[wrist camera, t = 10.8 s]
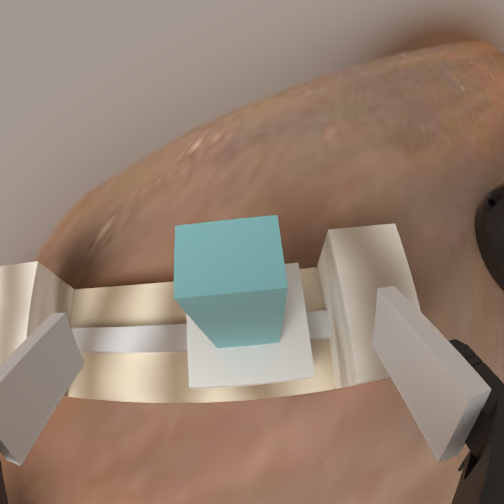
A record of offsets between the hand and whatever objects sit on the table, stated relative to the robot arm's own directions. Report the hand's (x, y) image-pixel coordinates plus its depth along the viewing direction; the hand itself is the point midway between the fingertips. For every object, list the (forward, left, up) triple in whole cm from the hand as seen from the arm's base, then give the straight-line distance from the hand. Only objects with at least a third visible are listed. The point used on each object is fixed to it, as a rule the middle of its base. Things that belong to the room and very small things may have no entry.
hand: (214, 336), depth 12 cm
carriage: (-1, -2, -11) cm, 11 cm away
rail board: (+4, -3, -14) cm, 15 cm away
